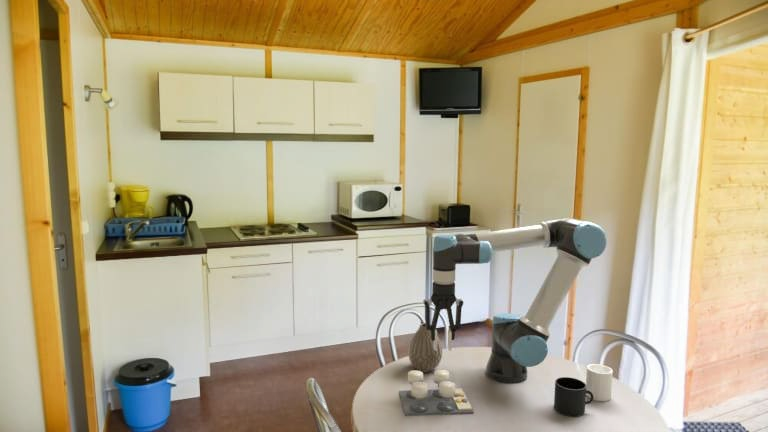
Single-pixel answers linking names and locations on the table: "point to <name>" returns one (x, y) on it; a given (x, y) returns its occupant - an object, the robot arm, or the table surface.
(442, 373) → the button
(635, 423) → the table surface
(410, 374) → the button
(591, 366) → the mug
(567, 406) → the mug
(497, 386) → the table surface
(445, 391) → the button
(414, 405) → the board
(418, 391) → the button
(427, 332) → the vase
